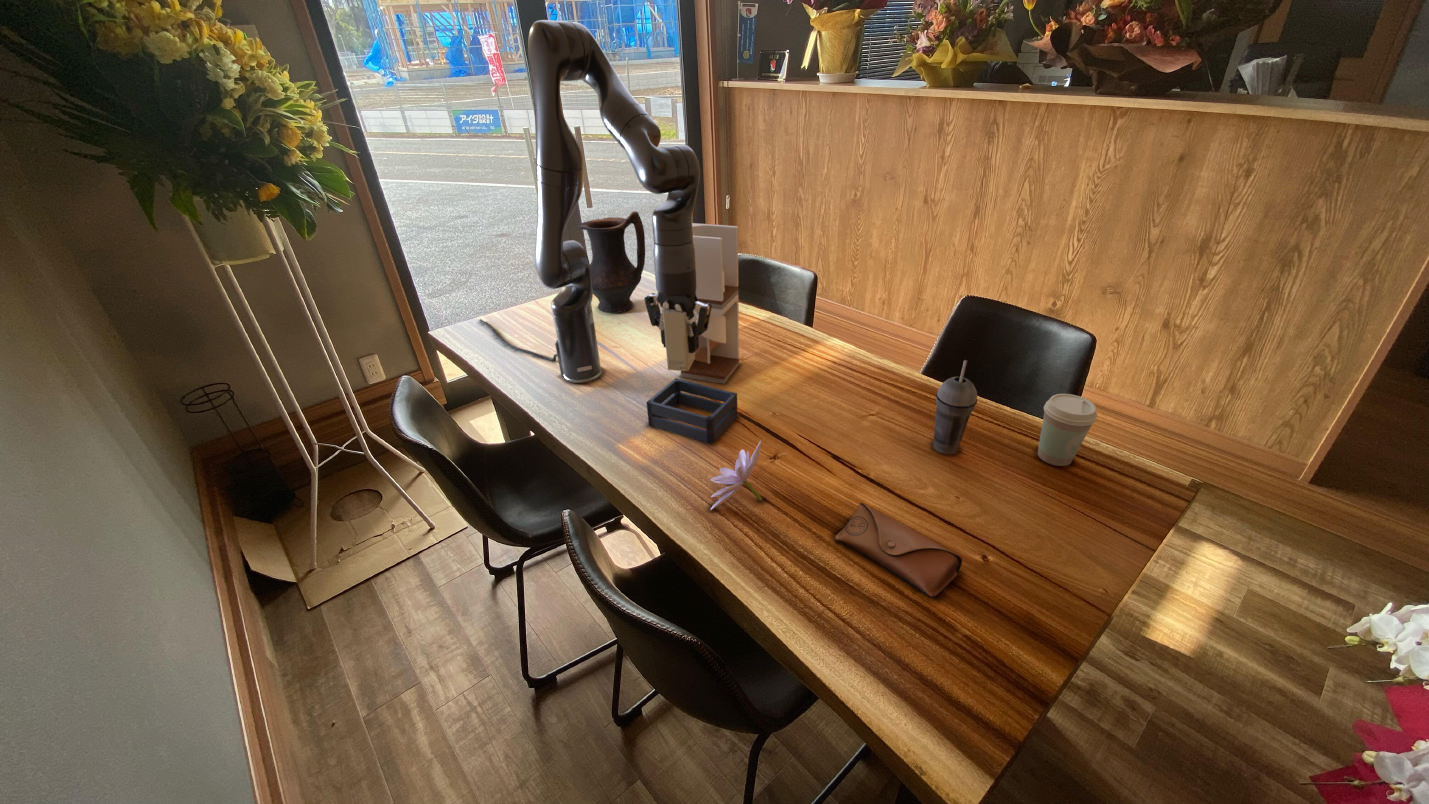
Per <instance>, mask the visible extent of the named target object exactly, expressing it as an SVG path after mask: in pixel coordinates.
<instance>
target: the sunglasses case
mask: <svg viewBox="0 0 1429 804" xmlns="http://www.w3.org/2000/svg"><path fill="white" fill-rule="evenodd" d="M834 540H835V541H837V542H839V543H841V544H842V545H843V544H844V545H845V546H847V547H850V548H851V549H853V550H855V551H856V552H858V553H860V554H862V555H863V556H864V557H867V558H869V559H870V560H872V561H874V562H875V563H877V564H878V565H879V566H882V567H883V568H885V569H886V570H888V571H889V572H891V573H892V574H894V575H896V576H897V577H898V578H900V579H902V580H903V581H905V582H906V583H908V584H910V585H911V586H913V587H914V588H915V589H917V590H918V591H920V592H922V593H924V594H925V595H926V596H929V597H930V598H934V597H937V596H938V595H939V594H940V593H942V592H943V591H944V590H945V589H946V588H947V587H948V586H949V584H950V583H952V582H953V580H954V579H955V578H956V577H957V576H958V574H959V572H960V569H961V567H962V565H963V559H962V557H961V556H960V554H958V553H955V552H953V551H951V550H949V549H947V548H945V547H944V546H942V545H941V544H939V543H937V542H935V541H933V540H932V539H930V538H928V537H926V536H925V535H923V534H921V533H919V532H917V531H916V530H914V529H912V528H910V527H908V526H907V525H905V524H903V523H901V522H899V521H898V520H895V519H893V518H892V517H890V516H887V515H886V514H884V513H882V512H880V511H877V510H875V509H874V508H871V507H870V506H868V505H867V504H865V503H863V502H860V503H859V505H858V506H857V508H856V509H855V511H854V513H853V514H852V516H851V517H850V518H849V520H848V521H847V522H846V524H845V525H844V527H843V528H842V530H840V531H839V532H838V533H837V534H835V536H834Z"/></svg>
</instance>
